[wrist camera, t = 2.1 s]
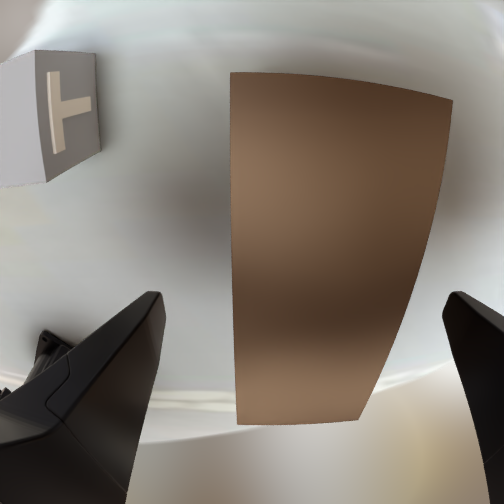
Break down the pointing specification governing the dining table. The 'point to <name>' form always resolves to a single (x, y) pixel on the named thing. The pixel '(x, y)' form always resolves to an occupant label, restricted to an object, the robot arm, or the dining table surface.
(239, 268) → the brown wooden block
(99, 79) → the dining table surface
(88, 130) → the letter cube
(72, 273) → the dining table surface
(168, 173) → the dining table surface
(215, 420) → the dining table surface
